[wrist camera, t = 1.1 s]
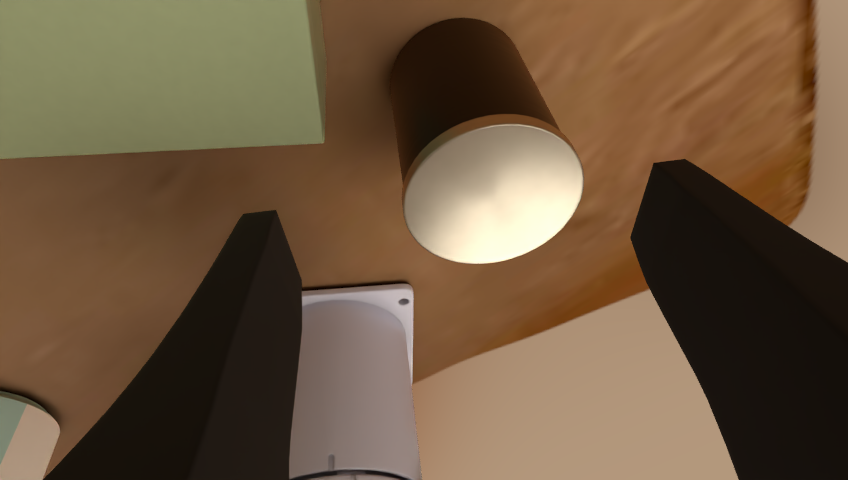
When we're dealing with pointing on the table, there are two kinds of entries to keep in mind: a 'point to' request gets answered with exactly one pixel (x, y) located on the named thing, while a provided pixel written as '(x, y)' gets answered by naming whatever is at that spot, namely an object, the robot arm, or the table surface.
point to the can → (25, 438)
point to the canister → (478, 146)
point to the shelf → (159, 75)
